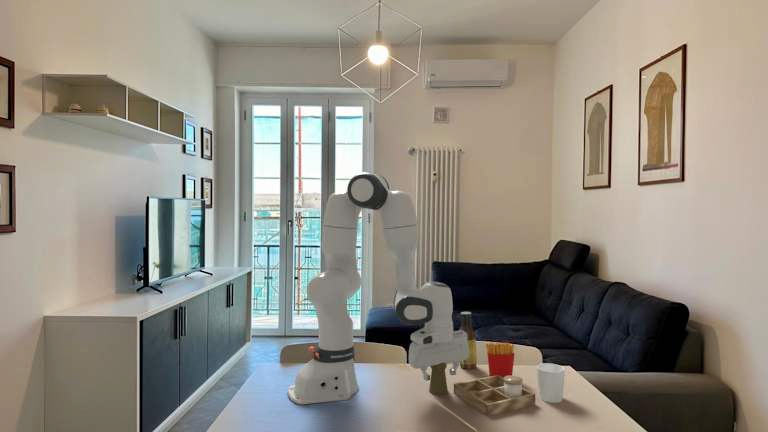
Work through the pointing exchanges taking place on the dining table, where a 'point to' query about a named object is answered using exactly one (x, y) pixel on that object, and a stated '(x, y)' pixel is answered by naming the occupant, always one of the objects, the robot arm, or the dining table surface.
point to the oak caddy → (491, 395)
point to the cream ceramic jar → (513, 386)
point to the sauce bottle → (469, 341)
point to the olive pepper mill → (438, 380)
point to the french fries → (500, 359)
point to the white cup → (550, 382)
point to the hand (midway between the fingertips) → (440, 377)
